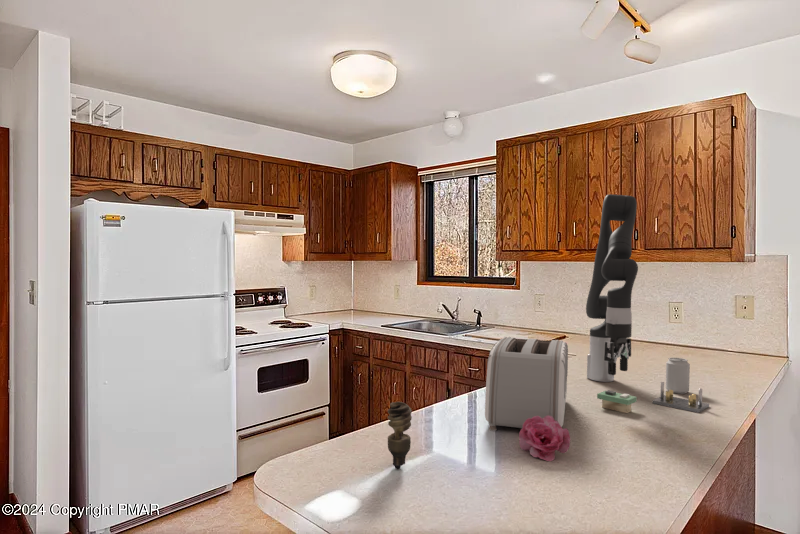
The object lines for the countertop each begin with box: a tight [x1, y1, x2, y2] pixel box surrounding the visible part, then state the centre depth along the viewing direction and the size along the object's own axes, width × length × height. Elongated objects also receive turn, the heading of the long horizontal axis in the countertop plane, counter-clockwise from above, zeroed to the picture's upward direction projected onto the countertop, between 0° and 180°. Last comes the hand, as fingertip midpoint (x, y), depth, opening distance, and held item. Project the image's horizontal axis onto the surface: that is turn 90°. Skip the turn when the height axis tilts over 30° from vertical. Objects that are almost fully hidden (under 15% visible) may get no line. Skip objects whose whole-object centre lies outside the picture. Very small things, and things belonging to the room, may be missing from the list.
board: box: [596, 389, 638, 405], centre depth 166 cm, size 10×6×2 cm, turn 44°
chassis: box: [652, 381, 710, 414], centre depth 172 cm, size 14×10×6 cm
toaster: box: [484, 336, 569, 432], centre depth 162 cm, size 21×45×22 cm, turn 161°
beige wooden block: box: [601, 399, 632, 414], centre depth 166 cm, size 8×3×3 cm, turn 44°
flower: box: [518, 415, 571, 462], centre depth 127 cm, size 11×10×10 cm
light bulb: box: [387, 401, 413, 470], centre depth 118 cm, size 6×6×15 cm
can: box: [665, 357, 691, 395], centre depth 189 cm, size 8×8×12 cm
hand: (617, 372), depth 165 cm, fingers open, 8 cm apart
